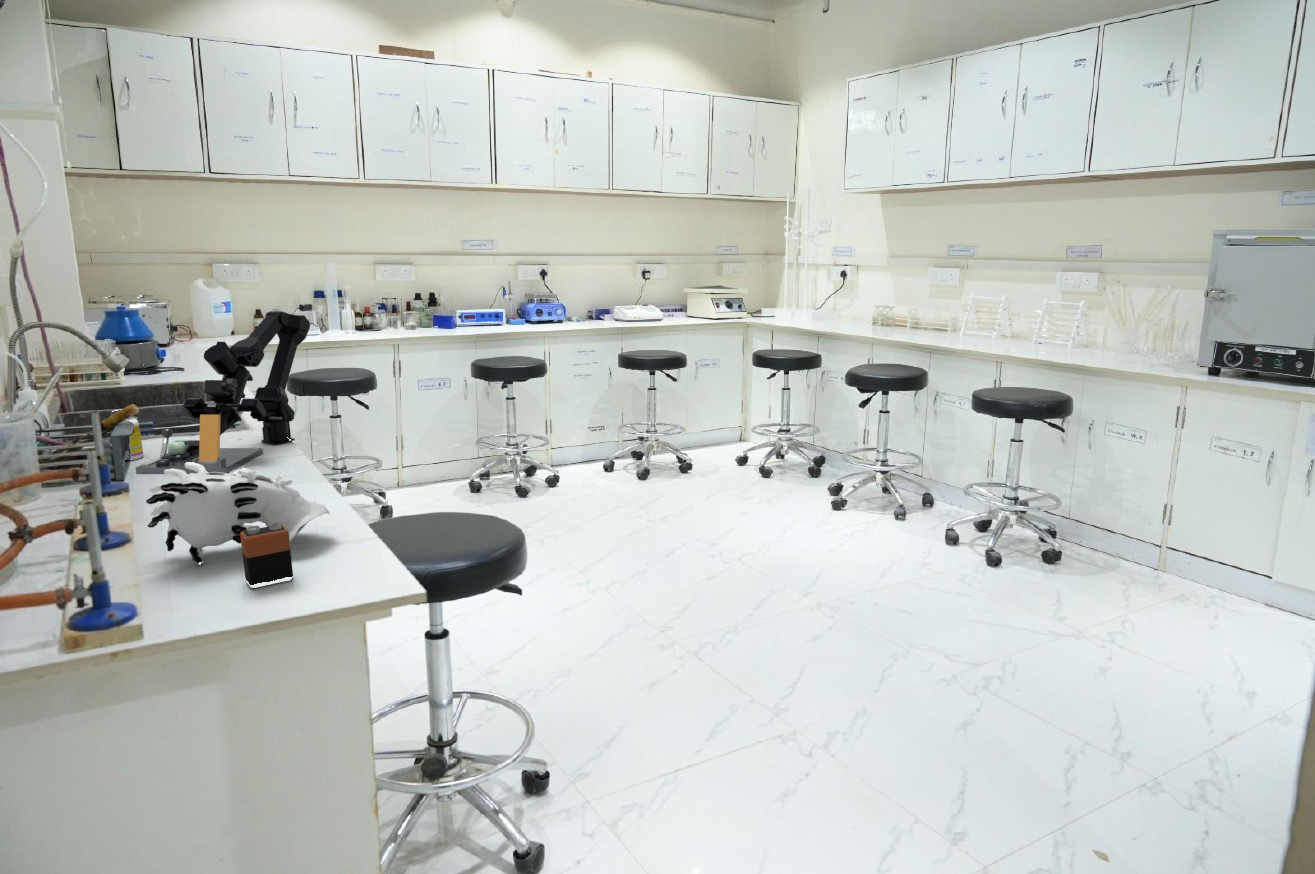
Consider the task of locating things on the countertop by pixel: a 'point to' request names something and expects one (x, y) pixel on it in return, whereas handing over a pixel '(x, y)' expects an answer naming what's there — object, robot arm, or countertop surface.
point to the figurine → (226, 506)
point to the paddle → (209, 440)
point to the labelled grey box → (190, 442)
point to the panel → (226, 463)
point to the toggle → (165, 441)
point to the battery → (266, 553)
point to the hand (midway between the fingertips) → (215, 436)
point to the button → (176, 447)
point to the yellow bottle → (135, 440)
